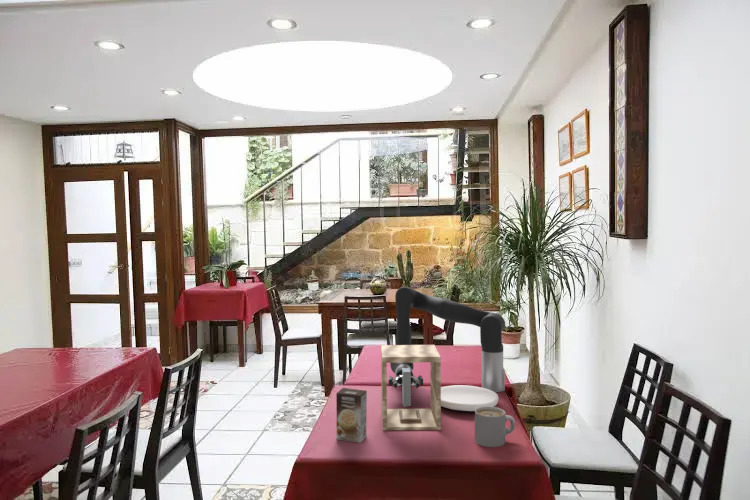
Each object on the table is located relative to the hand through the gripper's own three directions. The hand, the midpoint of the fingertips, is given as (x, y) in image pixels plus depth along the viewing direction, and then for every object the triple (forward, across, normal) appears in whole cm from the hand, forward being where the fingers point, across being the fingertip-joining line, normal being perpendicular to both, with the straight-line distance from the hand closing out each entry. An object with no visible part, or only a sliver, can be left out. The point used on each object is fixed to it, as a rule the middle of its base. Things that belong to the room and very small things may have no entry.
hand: (406, 385), depth 212 cm
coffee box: (+32, -21, +8) cm, 39 cm away
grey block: (-2, 0, +8) cm, 8 cm away
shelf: (+16, 0, +8) cm, 18 cm away
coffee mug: (+36, +27, +8) cm, 46 cm away
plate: (-1, +24, +8) cm, 25 cm away
